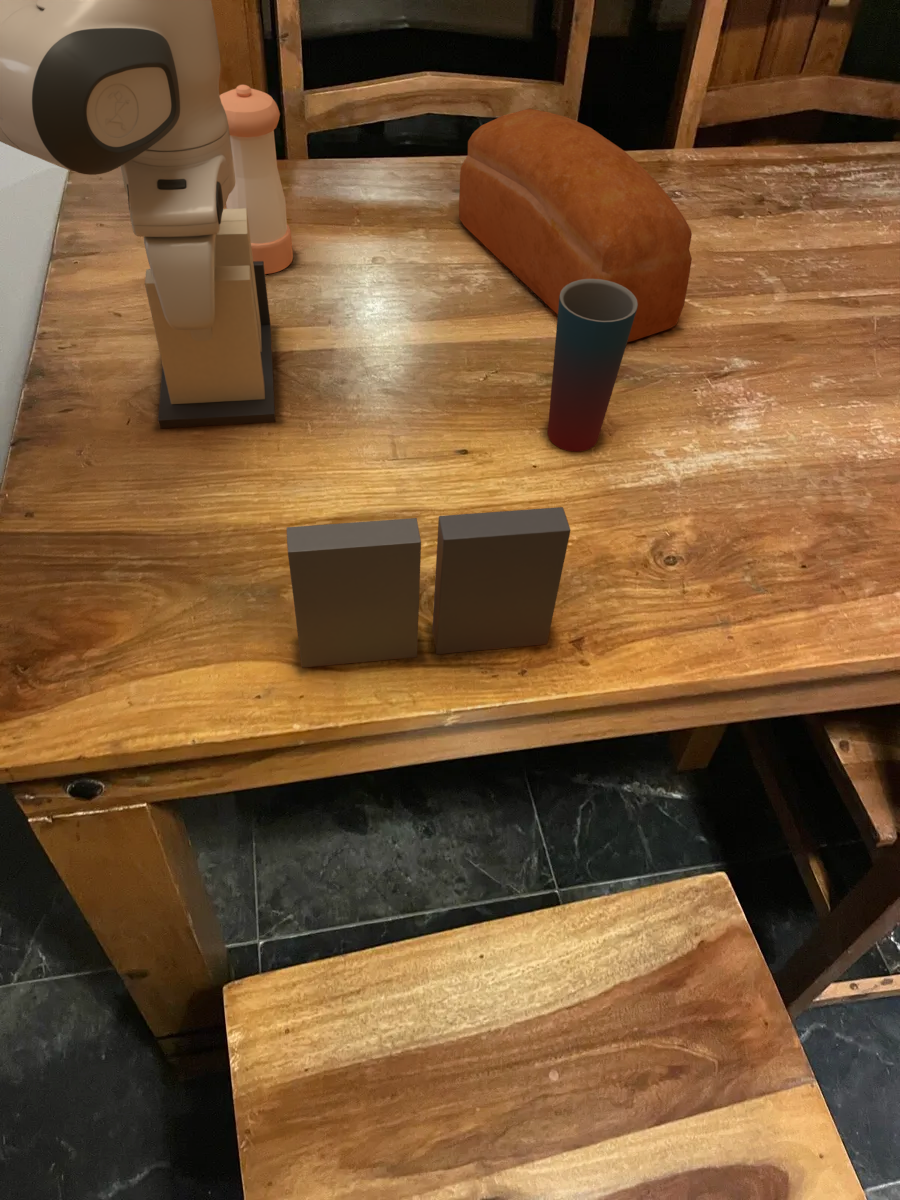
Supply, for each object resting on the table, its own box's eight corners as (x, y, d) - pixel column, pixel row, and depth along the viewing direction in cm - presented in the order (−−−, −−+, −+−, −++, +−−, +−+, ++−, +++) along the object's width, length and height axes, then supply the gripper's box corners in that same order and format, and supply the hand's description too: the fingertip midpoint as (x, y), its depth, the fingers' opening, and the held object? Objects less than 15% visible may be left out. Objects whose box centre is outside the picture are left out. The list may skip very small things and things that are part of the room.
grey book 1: (301, 667, 72) (287, 552, 62) (300, 643, 74) (286, 526, 64) (417, 657, 73) (421, 542, 64) (413, 633, 75) (416, 517, 65)
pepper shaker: (230, 275, 108) (206, 100, 93) (230, 243, 113) (207, 72, 98) (294, 273, 109) (279, 100, 94) (291, 241, 114) (277, 71, 99)
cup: (541, 409, 95) (561, 274, 83) (608, 418, 94) (638, 283, 83) (535, 453, 90) (557, 316, 79) (606, 462, 90) (637, 326, 78)
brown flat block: (171, 404, 91) (144, 283, 81) (172, 389, 92) (146, 268, 82) (265, 399, 92) (249, 279, 82) (264, 384, 93) (249, 265, 84)
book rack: (159, 428, 90) (129, 298, 79) (167, 333, 100) (140, 206, 89) (275, 421, 91) (260, 293, 81) (271, 328, 101) (257, 203, 91)
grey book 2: (436, 654, 74) (443, 539, 64) (432, 631, 75) (438, 515, 65) (547, 644, 75) (571, 530, 65) (540, 621, 76) (563, 506, 67)
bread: (538, 197, 124) (553, 71, 112) (691, 325, 106) (728, 190, 94) (446, 217, 119) (453, 88, 107) (590, 355, 101) (616, 217, 89)
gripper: (144, 110, 81) (172, 257, 92) (128, 228, 68) (162, 384, 78) (218, 109, 82) (237, 255, 92) (216, 225, 69) (239, 380, 79)
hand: (203, 315), depth 85 cm, fingers open, 5 cm apart
